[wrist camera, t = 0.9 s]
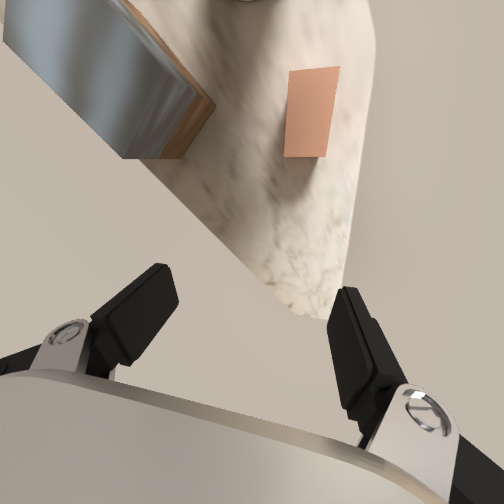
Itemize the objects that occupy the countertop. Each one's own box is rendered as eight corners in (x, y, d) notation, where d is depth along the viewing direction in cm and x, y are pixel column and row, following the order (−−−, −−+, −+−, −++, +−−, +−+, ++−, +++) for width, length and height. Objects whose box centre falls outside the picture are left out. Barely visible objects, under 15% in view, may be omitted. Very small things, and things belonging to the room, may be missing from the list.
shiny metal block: (111, 84, 28) (2, 40, 17) (138, 10, 23) (14, -109, 13) (180, 158, 31) (122, 159, 20) (216, 105, 26) (166, 71, 16)
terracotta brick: (289, 89, 24) (289, 71, 19) (329, 86, 23) (339, 66, 18) (285, 157, 28) (283, 157, 22) (319, 156, 27) (325, 156, 22)
